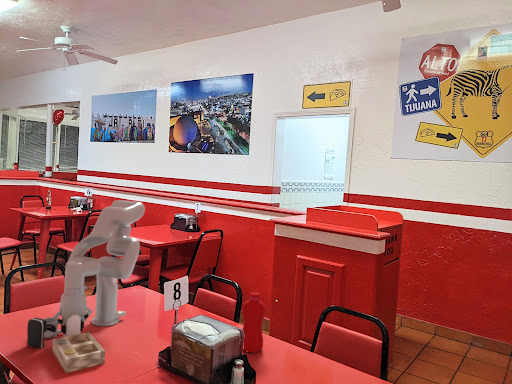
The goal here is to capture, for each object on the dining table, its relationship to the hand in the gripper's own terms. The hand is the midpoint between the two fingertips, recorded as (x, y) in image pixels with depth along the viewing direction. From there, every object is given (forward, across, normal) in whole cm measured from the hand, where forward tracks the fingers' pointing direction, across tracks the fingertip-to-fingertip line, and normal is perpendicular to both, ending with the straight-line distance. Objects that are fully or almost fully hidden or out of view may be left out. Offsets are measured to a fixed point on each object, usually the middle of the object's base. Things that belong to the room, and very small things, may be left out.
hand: (72, 331), depth 173 cm
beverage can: (+4, 0, 0) cm, 4 cm away
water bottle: (+4, -62, +44) cm, 76 cm away
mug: (+4, +5, -10) cm, 12 cm away
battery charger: (+4, +13, -2) cm, 14 cm away
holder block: (+4, +2, +16) cm, 17 cm away
